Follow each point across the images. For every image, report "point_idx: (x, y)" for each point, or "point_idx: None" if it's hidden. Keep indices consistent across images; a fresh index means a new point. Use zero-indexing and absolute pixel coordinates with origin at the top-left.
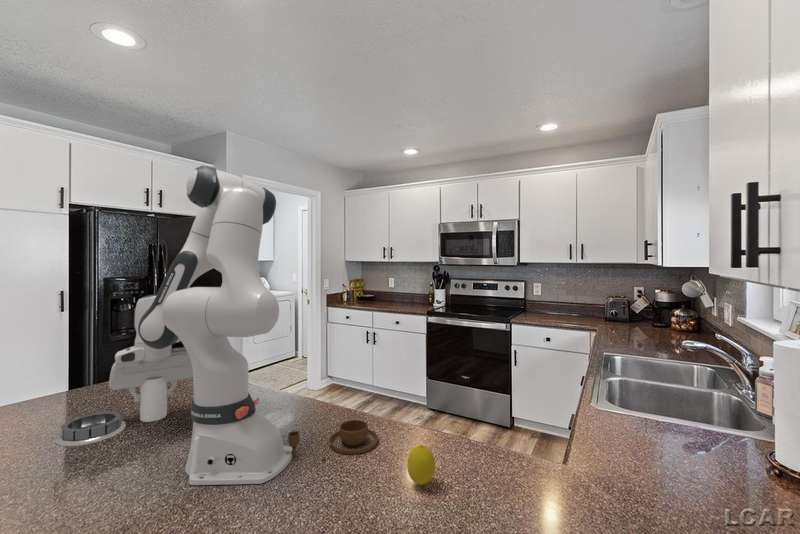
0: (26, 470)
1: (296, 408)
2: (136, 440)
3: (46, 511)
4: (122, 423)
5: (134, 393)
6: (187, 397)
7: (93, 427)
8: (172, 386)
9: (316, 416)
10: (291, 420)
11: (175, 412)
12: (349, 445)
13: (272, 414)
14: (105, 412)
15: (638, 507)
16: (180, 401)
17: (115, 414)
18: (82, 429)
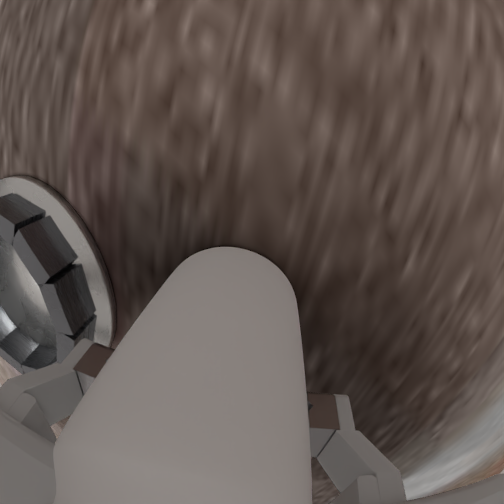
0: (4, 373)
1: (501, 446)
2: None
3: None
4: (97, 302)
5: (63, 417)
6: (478, 80)
7: (27, 371)
8: (339, 479)
9: (471, 479)
10: (446, 483)
11: (348, 295)
12: None
13: (464, 458)
14: (9, 228)
15: None
16: (437, 114)
17: (47, 302)
18: (8, 358)
